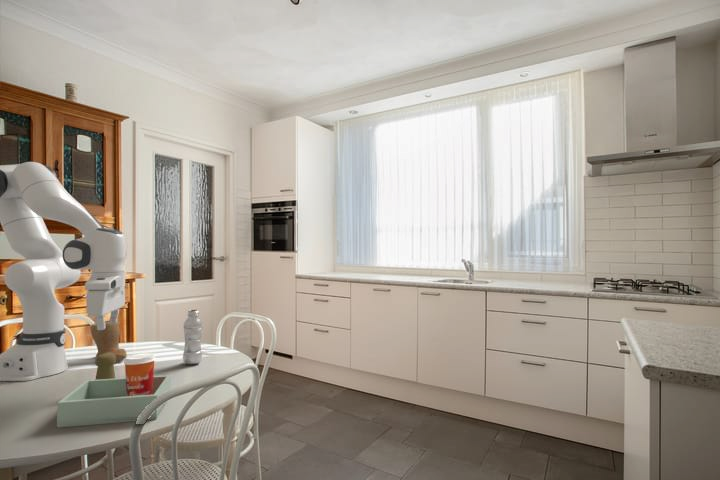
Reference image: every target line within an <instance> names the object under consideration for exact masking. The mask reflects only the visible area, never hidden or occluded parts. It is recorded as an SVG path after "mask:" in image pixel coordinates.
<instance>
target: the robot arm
mask: <svg viewBox="0 0 720 480" xmlns="http://www.w3.org/2000/svg"><path fill="white" fill-rule="evenodd" d="M43 218H44V219H47V220H51V221H56V222H59V223H63V224H65V225H68V226H71V227H73V228H75V229H77V230H78V231H79V232H80V233H81V234H82V235H83V237H80V238H77V239H72V240H70V241H68V242H67V243H66V244H65V245H64V247H63V250H62V249H60V247H59V246H58V245H57V244H56V242H55V241H54V239H53V238H52V236H51V234H50V232H49V230H48V228H47V225H46V223H45V221H44V219H43ZM0 225H1V228H2V230H3V232H4V235H5V237H6V238H7V239H6V240H7V242H8V244H9V246H10V248H11V249H12V250H13V251H14V252H15V253H17V254H19V255H21V256H22V257H23V258H24V259H25V260H23V261H22V260H21V261H19V262H15V263H13V264H11V265H10V266H8V267H7V269H6V270H5V272H4V278H3V279H4V283H5V285H6V286H7V288H8V289H9V290H10V291H12V292H14V294H16V296H17V298H18V300H19V302H20V305H21V309H22V331H21V332H20V333H18V334H16V335H15V336H13V339H12V341H16V342H15V344H14V345H12V346H10V347H9V348H8V349H6V350H4V351H3V352H2V353H0V382H17V381H18V382H21V381H22V382H25V381H32V380H36V379H39V378H44V377H48V376H53V375H57V374H60V373H63V372H65V371H67V370H68V369H69V365H68V362H67V358H66V351H65V345H66V339H67V337H66V336H67V335H66V328H65V306H64V305H63V304H62V303H61V302H59V301H58V299H57V296H56V293H55V290H59V289H64V288H66V287H67V288H68V287H69V286H71V285H73V284H75V283H77V282H78V281H79V279H81V274H82V271H84V270H85V271H86V270H87V271H88V270H91V271H90V277H89V278H88V280H87V281H85V283H84V290H85V291H87V292H86V295H85V297H86V298H85V299H86V300H85V302H86V304H85V305H86V314H87V316H88V317H89V318H90V317H91V318H94V320H95V323H97V330H104V329H105V328H106V323H105V319H106V315H107V314H109V313H110V316H109V319H108V320H109V323H110V324H115V323H117V320H118V316H119V314H120V313H119V312H120V309H121V308H124V306H125V305H126V288H125V287H126V267H125V261H126V258H127V257H126V256H127V248H126V237H125V235H124V233H123V232H122V231H121V230H119V229H113V228H107V227H105V226H103V225H102V224H101V222H100V221H99V220H98V219H97V218H96V217H95V216H94V214H92V213H91V212H90V210H89V209H87V208H86V207H85V206H84V205H82V203H80V202H79V201H77V200H76V198H74V197H73V196H72V195H71V194H70V193H69V192H68V191H67V190H66V189H65V187H64V186H63V184H61V182H60V181H59V178H58V175H57V173H56V172H55V170H54V169H53V168H52V167H51V166H49V165H45V164H44V165H43V164H42V163H40V162H36V161H25V162H23V163H15V164H5V165H4V164H1V165H0Z"/></svg>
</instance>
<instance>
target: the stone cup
mask: <svg viewBox="0 0 720 480" xmlns="http://www.w3.org/2000/svg"><path fill="white" fill-rule="evenodd" d="M104 321H105V320H104ZM105 323H106V328H105V329H104V330H97V323H96V322H95V323H92V324H91V325H90V333H91V337H92V339H93V340H94V343H95V346H96V349H97V353H96V355H95V358H97V357H98V356H99V355H102V354H114V355H115V356H116V361H115V363H117V362H121V361H123V360H125V359H126V358H127V357H128V355H127V351H126V349H125V348H120V346H119V343H120V336H121V326H120V321H119V320H118V319H117V323H115V324H110V323H109V319H108V320H106V321H105Z"/></svg>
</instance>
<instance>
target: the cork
mask: <svg viewBox="0 0 720 480" xmlns="http://www.w3.org/2000/svg"><path fill="white" fill-rule="evenodd" d="M95 358H96V357H95ZM115 361H116V356H115V355H114V354H102V355H99V356H98V357H97V358H96V359H95V365H96V367H97V369H96V374H95V379H94V380H98V379H115V378H116V372H115V366H114V365H115V363H116V362H115Z"/></svg>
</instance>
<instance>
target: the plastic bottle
mask: <svg viewBox="0 0 720 480" xmlns="http://www.w3.org/2000/svg"><path fill="white" fill-rule="evenodd" d="M199 313H200V310H199V309H189V310H188V311H187V316H188V317H187V319H185V321H184V322H183V325H182V326H183V331H184V332H183V333H184V347H183V348H184V349H183V354H182V361H183V363H184V364H185V365H195V364H200V363H201V361H202V358H203V355H202V354H203V353H202V346H201V338H202V336H201V335H202V329H203V321H202V320H201V319H200V317H199V315H200V314H199Z"/></svg>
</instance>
